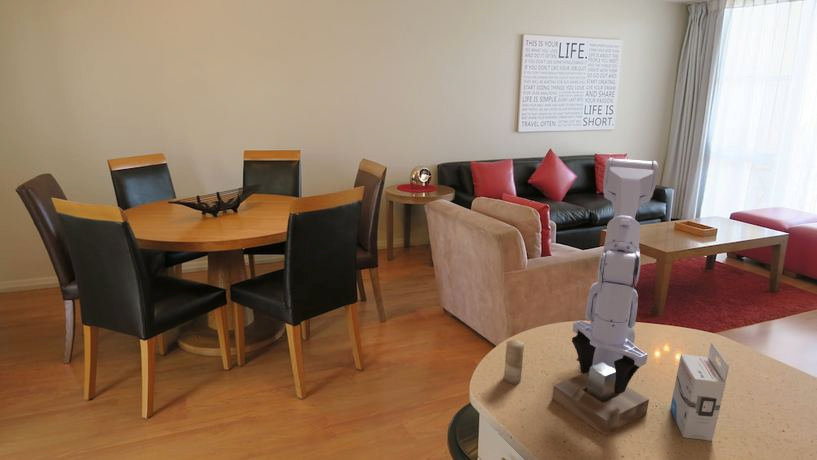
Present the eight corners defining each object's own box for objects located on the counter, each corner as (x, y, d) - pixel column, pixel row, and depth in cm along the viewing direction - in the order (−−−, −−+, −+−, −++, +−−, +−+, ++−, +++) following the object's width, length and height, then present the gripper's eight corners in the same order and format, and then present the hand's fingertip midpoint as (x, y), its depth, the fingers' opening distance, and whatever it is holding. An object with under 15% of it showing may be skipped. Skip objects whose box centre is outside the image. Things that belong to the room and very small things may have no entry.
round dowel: (512, 372, 108) (515, 338, 106) (524, 380, 105) (527, 345, 103) (500, 377, 107) (503, 342, 104) (511, 385, 104) (514, 350, 101)
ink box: (669, 408, 98) (682, 338, 93) (697, 412, 97) (712, 341, 92) (682, 438, 90) (697, 362, 85) (713, 442, 89) (730, 366, 84)
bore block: (593, 381, 106) (595, 368, 105) (646, 413, 96) (649, 399, 95) (552, 399, 100) (553, 385, 99) (604, 435, 90) (606, 420, 89)
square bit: (596, 398, 100) (602, 362, 98) (611, 408, 97) (617, 370, 95) (584, 404, 98) (590, 367, 96) (599, 413, 96) (605, 376, 93)
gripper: (564, 304, 96) (557, 368, 100) (633, 338, 85) (621, 409, 89) (590, 297, 100) (582, 359, 104) (659, 328, 88) (647, 396, 92)
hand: (602, 381), depth 96 cm, fingers open, 7 cm apart
